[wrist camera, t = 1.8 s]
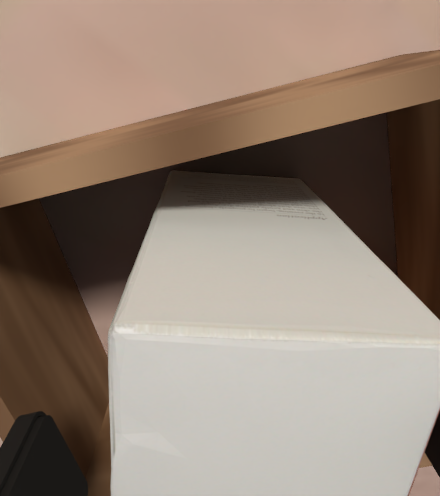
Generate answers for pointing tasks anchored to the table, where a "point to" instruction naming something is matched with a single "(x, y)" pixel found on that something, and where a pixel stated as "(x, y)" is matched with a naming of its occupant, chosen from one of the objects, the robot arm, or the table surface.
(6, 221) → the wooden cubby frame
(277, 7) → the table surface
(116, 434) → the small box
